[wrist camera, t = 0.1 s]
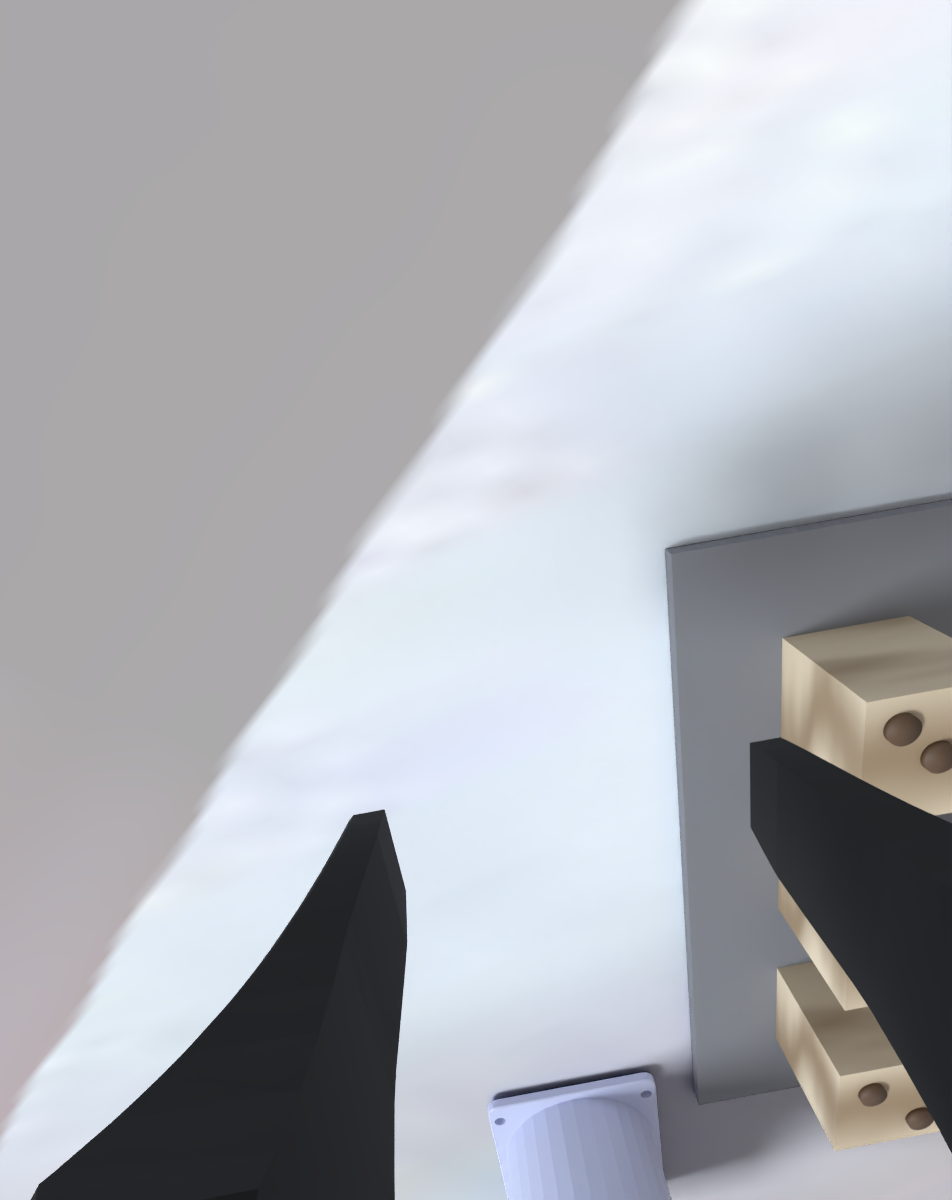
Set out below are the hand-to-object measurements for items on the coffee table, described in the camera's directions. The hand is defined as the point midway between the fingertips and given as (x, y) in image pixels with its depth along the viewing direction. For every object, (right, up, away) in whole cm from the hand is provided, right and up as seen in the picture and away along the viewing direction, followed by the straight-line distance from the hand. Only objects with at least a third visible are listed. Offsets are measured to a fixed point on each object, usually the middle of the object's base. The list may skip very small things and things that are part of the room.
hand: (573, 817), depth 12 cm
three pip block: (+11, +1, +11) cm, 15 cm away
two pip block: (+14, -14, +16) cm, 25 cm away
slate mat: (+13, -6, +14) cm, 20 cm away
